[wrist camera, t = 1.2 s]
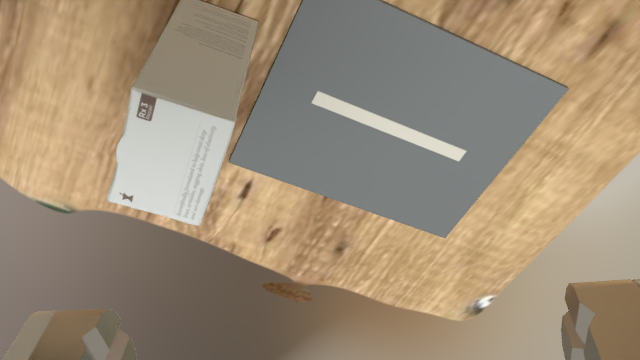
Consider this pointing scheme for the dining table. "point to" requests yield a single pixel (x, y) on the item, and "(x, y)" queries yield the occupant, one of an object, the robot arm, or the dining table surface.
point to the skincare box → (183, 112)
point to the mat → (390, 113)
